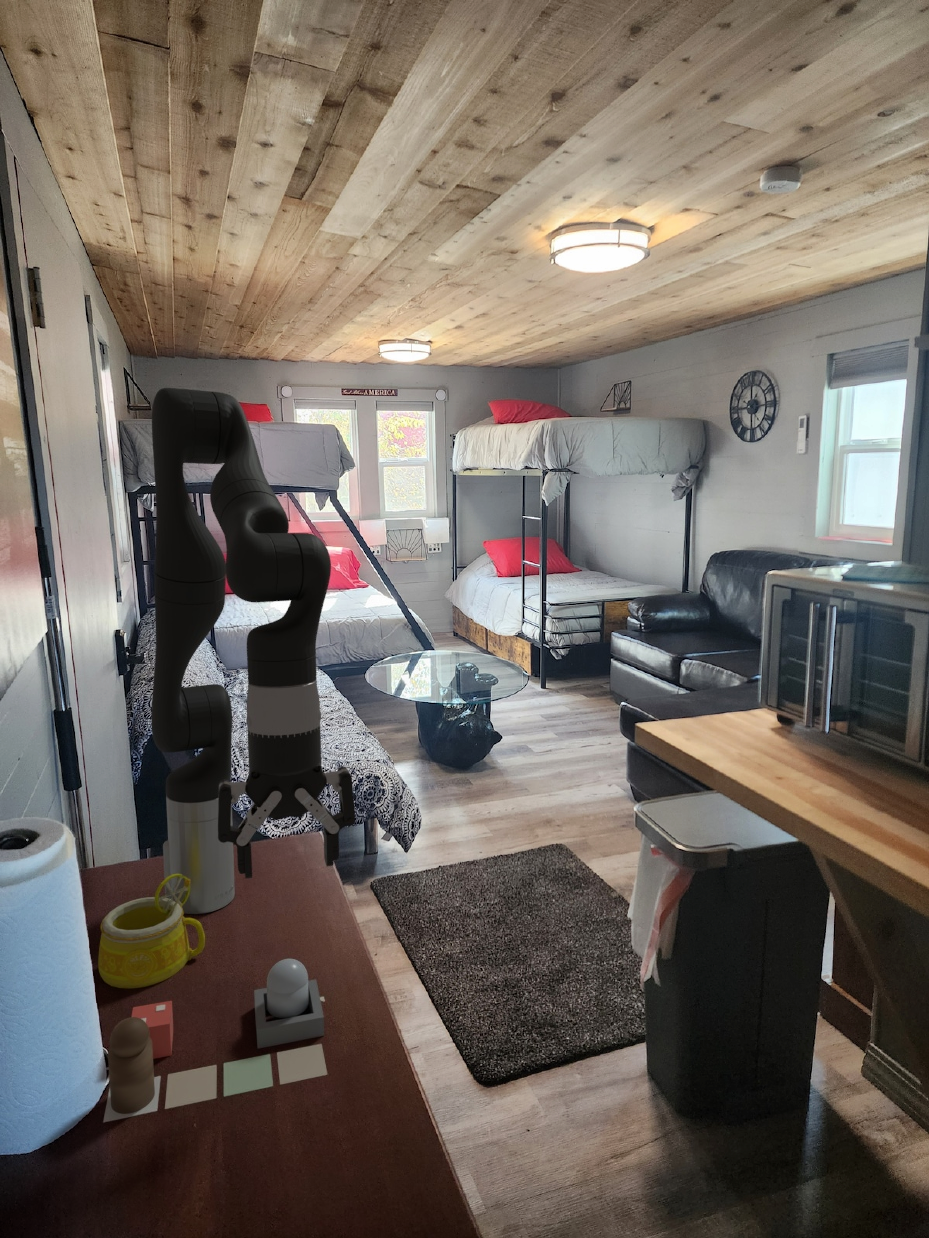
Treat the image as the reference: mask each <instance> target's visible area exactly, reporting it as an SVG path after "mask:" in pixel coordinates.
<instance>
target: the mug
mask: <svg viewBox="0 0 929 1238" xmlns="http://www.w3.org/2000/svg"><path fill="white" fill-rule="evenodd" d="M174 877H178V878H177V880H176V883H175V886H176V884H177V883H178V884H177V887H178V885H179V883H180V881H181V880H182V878H184V880H185V881H184V887H183V888H181V889H179V890H177V891H176V889H177V887H176V889H175V892H177V893H180V894H179V896H178V898H177V897H176V896H175V894H176V893H175V892H173V891H172V889H171V887H170V885H169V883H168V881H169V880H170V879H172V878H174ZM190 883H191V882H190V879H188V878H187V877H185V876H183V875H181V874H172V875H170V876H168V877H167V878H166V879H165V878H164V880H162V881H161V883H159V885H158V887H157V888H156V890H155V895H154V896H153V897H151V896H150V897H149V896H148V897H141V898H137V899H132V900H130V901H127V902H125V903H122V904H120V905H118V906H117V907H115V908H114V909H112V910H110V911H109V913H107V915H105V917H104V918H103V919H102V921H101V923H100V932H101V935H100V939H99V940H100V942H99V948H98V949H99V950H98V958H97V959H98V960H97V962H98V972H99V975H100V978H101V979H102V981H104V983H106V984H108V985H109V986H111V987H115V988H119V989H138V988H145V987H149V986H153V985H156V984H159V983H161V982H164V981H166V980H168V979H169V978H172V977H173V976H175V975H176V974H177V973H179V971H181V970H182V969H183V968H184V967H185V966H186V964H187V963H188V961H192V958H193V957H196V956H198V955H199V954H201V953H202V952H203V950H204V948H205V942H206V934H205V932H204V928H203V925H202V923H201V922H200V921H199V920H197V919H196V918H192V917H185V916H184V914H185V913H184V912H183V909H182V906H183V905H184V903H185V902H186V900H187V898H188V896H189V893H190ZM165 886H166V887H167V888H168V889H169V891H170V892H171V893H170V894H171V895H173V896H172V898H173V897H174V899H175V901H176V902H175V901H173V900H172V898H171V899H170V897H171V895H169V894H167V895H169V896H170V897H169V896H167V895H165V894H163V895H160V893H161V891H162V888H163V887H165ZM175 886H174V888H175ZM174 888H173V890H174ZM178 891H179V892H178ZM184 891H186V894H185V897H184V899H183V900H182V902H180V901H179V900H180V898H181V896H182V894H183V892H184ZM167 897H169V899H168V898H167ZM187 925H190V926H193V927H194V928H196V932H197V936H198V943H197V947H196V948H195V949H192V948H191V947H190V944H189V943H190V942H189V937H188V936H189V935H188V931H187V928H186V926H187Z"/></svg>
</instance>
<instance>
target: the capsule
mask: <svg viewBox="0 0 929 1238" xmlns="http://www.w3.org/2000/svg"><path fill="white" fill-rule="evenodd" d="M308 981H309V974H308V971H307V969H306V967H305V965H304V964H303V963H302V962H301V961H299V960H297V959H294V958H284V959H282V960H279V961H277V962H276V963H275V964H274V965H273V966H272V967H271V969H270V970H269V972H268V975H267V978H266V988H267V1009H268V1013H269V1014H270V1015H271V1016H273V1017H275V1018H277V1019H278V1018H279V1019H285V1018H291V1017H296V1016H300V1015H301V1014H302V1013H303V1012H305V1011H306V1009H308V1006H309V996H308Z"/></svg>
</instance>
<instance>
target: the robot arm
mask: <svg viewBox="0 0 929 1238" xmlns="http://www.w3.org/2000/svg"><path fill="white" fill-rule="evenodd" d="M151 410H152V412H151V435H152V436H151V437H152V439H151V440H152V442H151V443H152V453H153V454H152V455H153V471H154V486H155V511H156V512H155V514H156V515H155V516H156V517H155V519H156V521H155V522H156V523H155V545H154V546H155V548H154V549H155V551H154V594H153V595H154V614H155V615H154V616H155V620H154V622H155V655H154V656H155V658H154V669H153V670H154V673H153V683H152V684H153V685H152V695H151V697H152V698H151V713H150V714H151V715H150V717H151V718H150V720H151V721H150V723H151V735H152V739H153V742H154V744H155V746H156V748H157V749H158V750H159V751H161V752H162V753H166V754H167V753H179V752H185V751H186V752H187V751H188V752H189V751H193V750H200V749H202V750H201V751H200V752H198V754H197V755H196V756H195V757H194V758H193V759H191V760H190V761H188V762H186V763H185V764H183V765H180V766H179V767H177V768H176V769H174V770H173V771H171V772H170V773H169V774H168V776H167V777H166V779H165V796H166V797H165V799H166V801H165V802H166V818H167V820H166V821H167V837H168V838H167V840H165V841H164V843H163V844H162V853H163V855H162V856H163V873H164V874H163V875H164V880H165V879H166V878H167V877H168V876H170V875H172V874H181V875H183V876H185V877H187V878H188V879H190V882H191V883H190V893H189V896H188V898H187V900H186V902H185V903H184V905H183V906H182V909H183V912H184V914H187V915H188V914H189V915H198V914H199V915H200V914H207V913H211V912H214V911H217V910H219V909H223V908H224V907H226V906H227V905H229V904H230V903H231V902H232V901H233V899H234V898H235V894H236V893H235V863H234V862H235V861H234V859H235V857H234V845H235V846H236V857H237V858H236V859H237V862H236V863H237V870H238V873H239V875H242V874H243V875H244V876H245V877H244V879H245V880H247V879H253V864H252V862H253V861H252V859H253V857H252V844H251V839H252V837H253V835H254V834H255V833H256V832H257V830H259V829H260V828H261V826H262V825H263V824H264V822H266V820H267V818H269V819H272V820H273V821H277V820H282V819H285V818H289V817H290V818H302V817H304V815H305V814H307V813H308V812H309V813H310V814H311V815H312V817H314V818H315V820H316V821H317V822H318V823H320V824H321V825H322V826H323V828H322V829H323V857H324V862H325V863H324V864H325V865H326V867H333V866H334V861H338V859H339V857H340V834H339V833H340V832H341V830H342V829H343V828H345V827H351V826H353V825H355V823H356V809H355V800H354V797H355V796H354V788H353V777H352V775H351V773H350V771H349V769H348V768H347V767H345V766H341V767H340V766H339V767H338V769H337V771H330V772H324V771H323V770H324V769H323V768H322V767H323V766H322V740H321V737H322V736H321V735H322V734H321V720H322V713H321V703H320V702H321V701H320V694H319V690H318V689H319V688H318V680H317V650H316V649H317V647H316V646H317V644H316V643H317V637H318V632H319V625H320V620H321V616H322V612H323V607H324V603H325V601H326V600H325V599H326V597H327V591H328V588H329V584H330V579H331V575H332V574H331V571H332V562H331V556H330V554H329V550H328V548H327V546H326V544H325V543H324V542H323V541H322V539H321V538H320V537H318V536H317V535H316V534H313V533H309V532H289V530H290V526H289V525H290V524H289V519H288V516H287V513H286V510H285V509H284V507H283V505H282V504H281V502H280V501H279V499H278V497H277V496H276V494H275V492H274V490H273V488H272V487H271V485H270V483H269V482H268V480H267V478H266V475H265V473H264V470H263V468H262V465H261V460H260V457H259V454H258V450H257V447H256V446H257V445H256V444H255V440H254V437H253V434H252V431H251V427H250V425H249V424H250V423H249V422H248V419H247V416H246V413H245V411H244V408H243V407H242V405H241V404H240V402H239V401H238V400H237V399H236V397H234V396H232V395H231V394H228V393H226V392H225V393H224V392H220V391H211V390H200V389H186V388H176V387H175V388H174V387H162V388H160V389H159V390H158V391H157V392H156V394H155V396H154V399H153V403H152V409H151ZM184 464H200V465H201V464H202V465H204V464H205V465H221V464H222V466H221V467H220V469H219V470H218V471H217V473H216V474H215V476H214V478H213V480H212V482H211V486H210V492H209V497H210V498H209V500H210V505H211V510H212V512H213V514H214V517H215V519H216V520H217V523H218V524H219V526H220V529H221V531H222V533H223V535H224V539H225V547H226V554H225V555H226V556H225V555H224V553H223V551H222V549H221V547H220V545H219V543H218V542H217V540H216V538H215V537H214V536H213V534H212V532H211V531H210V530H209V527H207V525H206V524H205V522H204V520H203V519H202V518H201V516H200V514H199V513H198V511H197V509H196V508H195V507H196V506H195V505H194V503H193V501H192V499H191V497H190V494H189V492H188V489H187V486H186V481H185V477H184ZM226 583H227V585H228V588H229V589H230V591H231V592H232V593H233V594H234V595H235V596H236V597H237V598H239V599H240V600H242V601H244V602H248V603H268V602H269V603H270V602H288V601H290V602H289V605H288V607H287V609H286V612H285V613H284V614H283V616H282V617H280V618H279V619H277V620H274V621H271V622H268V623H265V624H261V625H259V626H255V627H254V628H252V629H251V630H250V631H249V632H248V634H247V637H246V659H247V660H246V662H247V663H246V664H247V667H246V668H247V683H248V684H247V694H246V695H247V696H246V720H245V721H246V729H247V730H246V731H247V749H248V750H247V752H248V775H247V778H246V780H245V781H233V782H232V767H233V766H232V740H233V738H232V737H233V711H232V710H233V709H232V702H231V698H230V695H229V693H228V691H227V689H226V688H225V687H224V686H223V685H221V684H215V683H214V684H212V683H211V684H203V685H193V686H186V687H184V686H183V687H182V685H183V680H184V676H185V674H186V671H187V668H188V665H189V663H190V661H191V659H192V658H193V656H194V655H195V653H196V651H197V650H198V648H199V647H200V645H201V644H202V643H203V642H204V640H205V639H206V637H207V636H208V635H209V633H210V632H211V631H212V629H213V628H214V627H215V625H216V624H217V622H218V620H219V618H220V617H221V615H222V612H223V610H224V608H225V605H226ZM327 784H330V786H331V787H332V789H333V791H335V792H336V793H338V797H339V807H340V808H339V810H340V811H339V812H338V813H335V814H333V813H332V812H331V811H330V810H329V809H328V808H327V806H325V804H324V803H323V802H322V801H321V799H320V798H319V797H320V795H321V794H322V793H323V791H324V789H325V788H326V787H327ZM243 794H246V796H247V797H248V798H249V799H250V800H251V801H252V805H251V806H250V808H249V809H248V810H247V812H246V814H245V817H244V818H243V819H242V821H241V823H240V824H239V825H238V826H234V825H233V806H232V805H235V804H237V803H238V802H239V801H240V796H241V795H243ZM177 878H178V877H174V878H172V879H170V880H169V881H168V883H169V885H170V887H171V889H172V891H173V892H175V889H176V887H177V884H178V883H177V884H176V886H175V883H176V880H177ZM184 881H185V880H184V878H182V880H181V881H180V883H179V885H178V887H177V889H176V891H177V890H179V889H181V888H183V887H184ZM174 886H175V888H174ZM173 888H174V890H173ZM178 892H179V891H178ZM170 893H171V892H170V891H169V889H168V888H167V887H166V886H165V885H164V895H167V894H169V895H171V894H170ZM175 893H176V894H175V896H176V897H177V898H178V896H179V894H180V893H177V892H175ZM185 894H186V891H184V892H183V894H182V896H181V898H180V900H179V901H180V902H182V900H183V899H184V897H185ZM169 895H167V896H169ZM172 896H173V895H171V897H170V896H169V897H170V899H171V898H172ZM169 897H167V898H168V899H169ZM172 900H173V901H175V899H174V897H173V898H172ZM175 902H176V901H175Z"/></svg>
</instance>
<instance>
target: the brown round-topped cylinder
mask: <svg viewBox="0 0 929 1238" xmlns="http://www.w3.org/2000/svg"><path fill="white" fill-rule="evenodd" d="M107 1060H108V1062H107V1063H108V1075H109V1078H108V1079H109V1089H110V1096H111V1107H112V1109H113V1110H114V1111H115V1112H117V1113H120V1114H129V1113H134V1112H137V1111H139V1110H141V1109H143V1108H144V1107H146V1106H147V1105H148V1104H149V1103H150V1102H151V1101H152V1099H153V1098H154V1095H155V1086H154V1077H155V1070H154V1059H153V1048H152V1040H151V1038H150V1037H149V1028H148V1025H147V1024H146V1022H145V1021H143V1020H142V1019H140V1018H137V1017H132V1016H131V1017H126V1018H124V1019H122V1020H121V1021H118V1023H116V1025H115V1026H114V1028H113V1029H112V1031H111V1033H110V1035H109V1048H108V1051H107Z"/></svg>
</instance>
